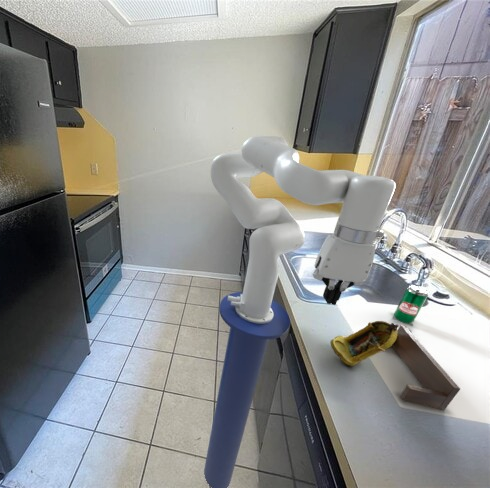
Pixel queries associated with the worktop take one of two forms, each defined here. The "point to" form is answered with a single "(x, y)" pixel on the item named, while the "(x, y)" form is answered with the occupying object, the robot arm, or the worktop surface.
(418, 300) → the soda can
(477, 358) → the worktop surface
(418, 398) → the shoe rack
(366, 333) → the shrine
